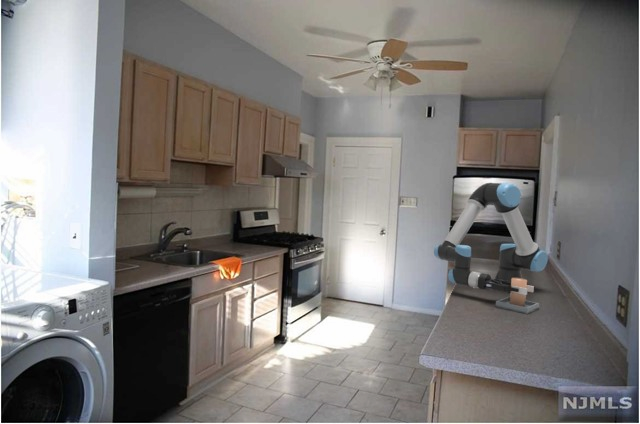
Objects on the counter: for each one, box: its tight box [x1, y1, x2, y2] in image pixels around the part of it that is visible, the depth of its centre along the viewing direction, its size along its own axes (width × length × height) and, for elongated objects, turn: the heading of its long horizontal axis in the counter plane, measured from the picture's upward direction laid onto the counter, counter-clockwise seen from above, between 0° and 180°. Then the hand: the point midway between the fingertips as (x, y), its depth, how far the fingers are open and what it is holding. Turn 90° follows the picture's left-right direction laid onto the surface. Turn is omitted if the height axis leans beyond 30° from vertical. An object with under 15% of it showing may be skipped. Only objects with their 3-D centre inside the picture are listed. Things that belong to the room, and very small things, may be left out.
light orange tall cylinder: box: [509, 277, 528, 307], centre depth 200 cm, size 6×6×12 cm
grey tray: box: [495, 296, 540, 315], centre depth 200 cm, size 14×14×2 cm
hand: (530, 290), depth 196 cm, fingers open, 7 cm apart
